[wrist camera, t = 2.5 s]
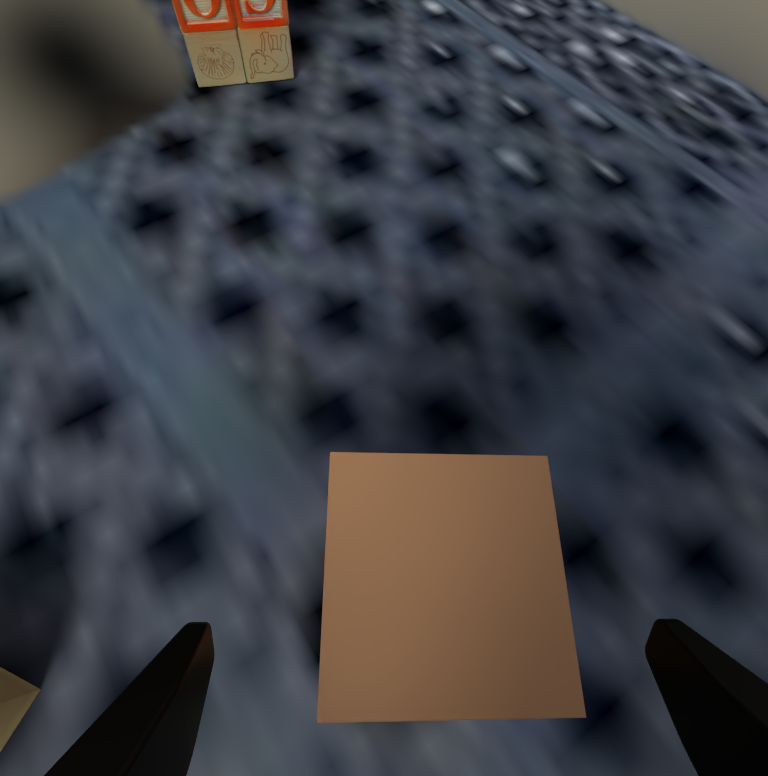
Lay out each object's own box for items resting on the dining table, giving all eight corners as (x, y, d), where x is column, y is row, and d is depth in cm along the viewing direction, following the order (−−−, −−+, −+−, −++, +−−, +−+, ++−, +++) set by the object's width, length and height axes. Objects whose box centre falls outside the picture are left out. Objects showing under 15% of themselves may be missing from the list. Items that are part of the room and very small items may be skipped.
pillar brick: (456, 641, 17) (586, 717, 8) (336, 643, 16) (317, 723, 7) (449, 517, 18) (547, 455, 9) (340, 516, 18) (330, 451, 9)
